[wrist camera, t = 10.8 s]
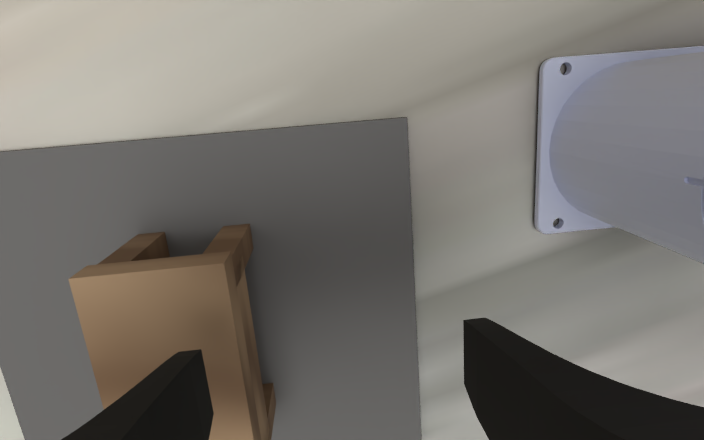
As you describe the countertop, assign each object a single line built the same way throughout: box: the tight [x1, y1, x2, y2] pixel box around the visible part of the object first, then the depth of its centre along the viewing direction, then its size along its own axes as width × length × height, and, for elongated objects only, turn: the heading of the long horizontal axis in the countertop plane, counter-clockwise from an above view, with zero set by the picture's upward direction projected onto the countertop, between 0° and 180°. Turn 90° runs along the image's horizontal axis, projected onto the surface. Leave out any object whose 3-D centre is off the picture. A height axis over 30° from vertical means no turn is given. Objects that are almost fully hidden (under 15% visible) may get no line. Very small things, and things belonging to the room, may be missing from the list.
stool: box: [68, 224, 276, 440], centre depth 18 cm, size 10×5×6 cm, turn 5°
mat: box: [0, 117, 422, 440], centre depth 21 cm, size 20×18×1 cm
